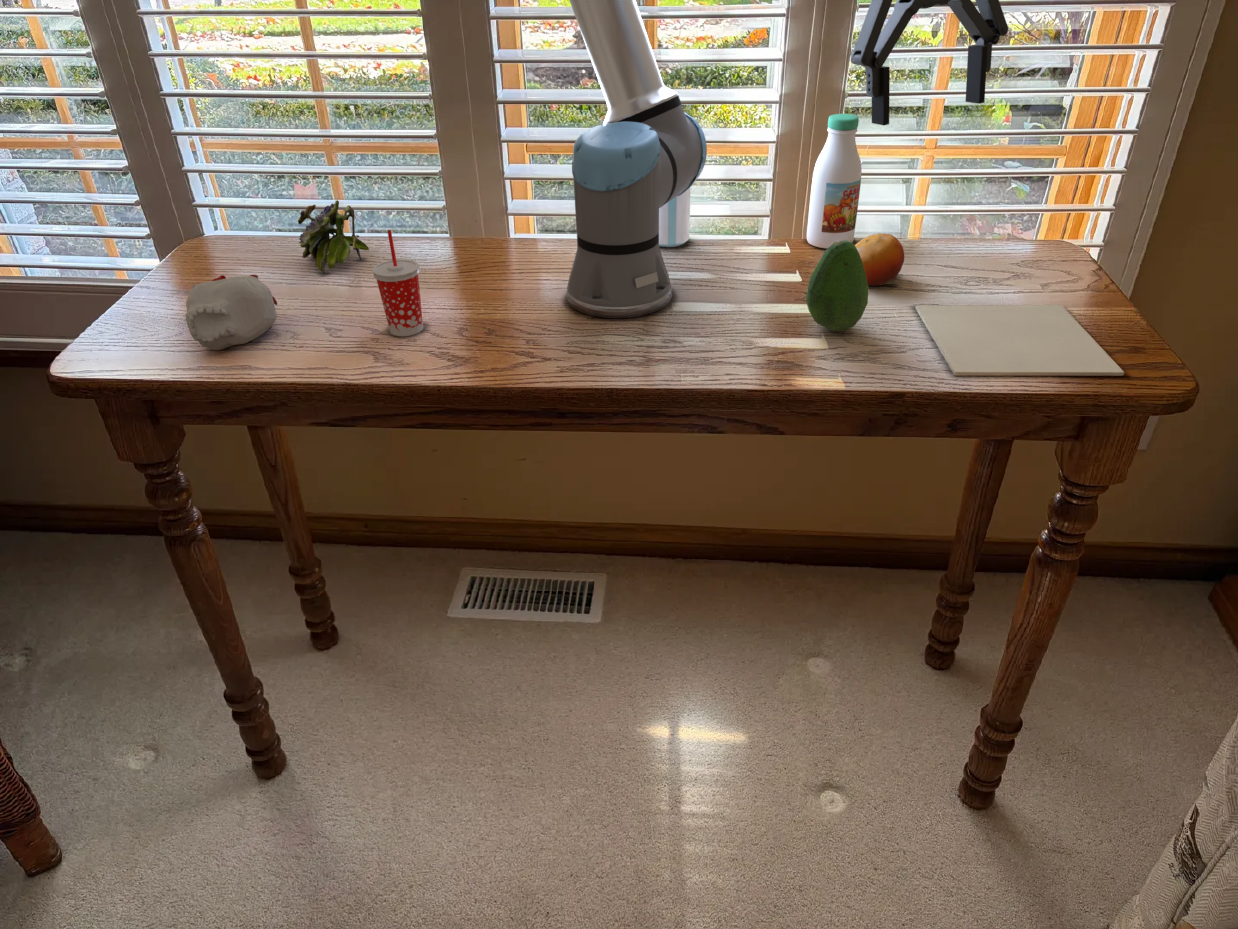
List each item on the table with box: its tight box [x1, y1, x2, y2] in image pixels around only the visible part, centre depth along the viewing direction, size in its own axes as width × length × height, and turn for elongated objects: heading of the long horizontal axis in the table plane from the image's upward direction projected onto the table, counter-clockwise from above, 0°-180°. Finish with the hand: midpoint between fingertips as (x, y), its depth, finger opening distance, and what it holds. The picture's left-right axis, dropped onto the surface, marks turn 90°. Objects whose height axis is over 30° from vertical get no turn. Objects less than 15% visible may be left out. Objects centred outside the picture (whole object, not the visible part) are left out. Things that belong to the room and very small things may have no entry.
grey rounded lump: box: [185, 274, 278, 351], centre depth 117 cm, size 9×11×15 cm
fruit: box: [854, 233, 905, 287], centre depth 129 cm, size 8×8×8 cm
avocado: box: [805, 240, 869, 332], centre depth 113 cm, size 8×8×12 cm
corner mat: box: [915, 304, 1125, 377], centre depth 113 cm, size 20×20×1 cm
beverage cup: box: [371, 229, 424, 337], centre depth 116 cm, size 6×6×14 cm
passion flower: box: [297, 199, 370, 275], centre depth 140 cm, size 11×11×12 cm
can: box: [659, 186, 692, 248], centre depth 143 cm, size 7×7×12 cm
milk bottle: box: [806, 113, 862, 250], centre depth 139 cm, size 8×8×20 cm
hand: (928, 113), depth 108 cm, fingers open, 13 cm apart
